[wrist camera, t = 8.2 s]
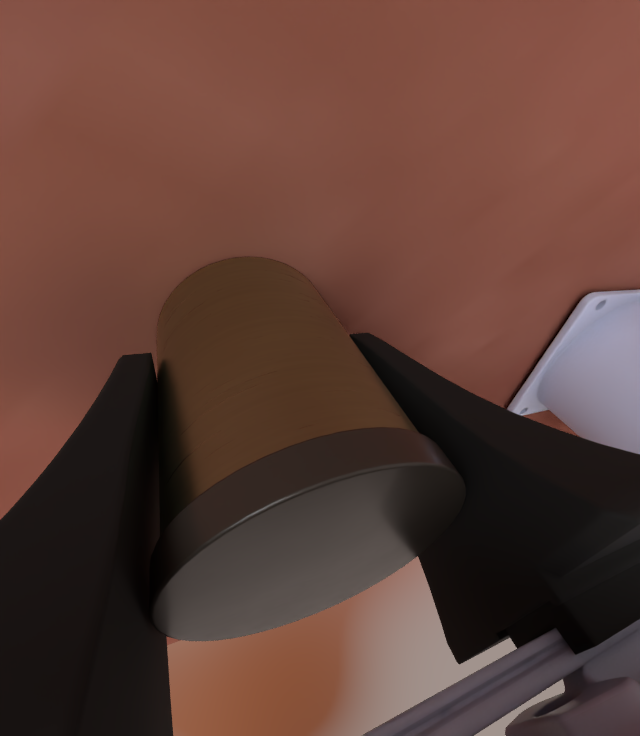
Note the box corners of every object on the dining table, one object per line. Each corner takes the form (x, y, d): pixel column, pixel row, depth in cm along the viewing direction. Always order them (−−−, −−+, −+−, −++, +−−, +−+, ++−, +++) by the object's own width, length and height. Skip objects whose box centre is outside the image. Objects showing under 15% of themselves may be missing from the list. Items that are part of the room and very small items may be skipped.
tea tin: (341, 250, 10) (523, 432, 5) (316, 387, 14) (412, 576, 9) (132, 249, 8) (101, 538, 3) (165, 409, 12) (175, 669, 7)
